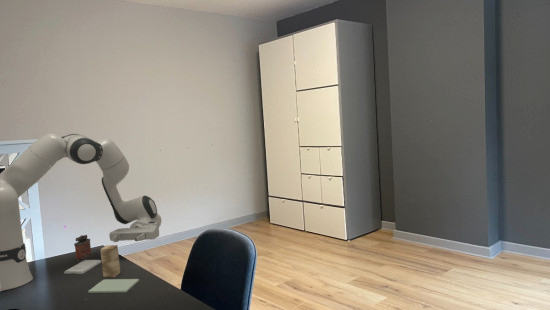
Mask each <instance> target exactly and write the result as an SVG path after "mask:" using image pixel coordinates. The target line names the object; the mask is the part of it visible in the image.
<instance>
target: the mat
mask: <svg viewBox="0 0 550 310" xmlns="http://www.w3.org/2000/svg"><path fill="white" fill-rule="evenodd" d="M139 281H140V279H139V278H129V279H128V278H127V279H126V278H120V279H119V278H118V279H116V278H115V279H114V278H113V279H112V278H111V279H110V278H108V279H106V278H105V279H102V280H101V281H100V282H98V283H97V284H96V285H94V286H93V287H91V289H89V290H88V291H87V292H88V293H89V294H90V293H94V294H95V293H96V294H98V293H107V294H108V293H110V294H111V293H127V292H129V291H130V290H131V289H132V288H133V287H134V286H135V285H136V284H137V283H138V282H139Z"/></svg>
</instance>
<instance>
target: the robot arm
mask: <svg viewBox="0 0 550 310" xmlns="http://www.w3.org/2000/svg"><path fill="white" fill-rule="evenodd" d="M64 158H67V159H69V160H70V161H71V162H75V163H77V164H80V165H88V164H91V163H97V165H98V167H99V169H100V170H101V172H102V177H101V185H102V189H103V190H104V192H105V195H106V197H107V199H108V201H109V203H110V206H111V208H112V211H113V214H114V217H115V220H116V221H117V222H119V223H120V224H123V225H128V224H129V223H132V222H133V223H132V224H130V226H129V227H125V228H124V227H123V228H117V229H115V230H112V231H110V232H109V235H108V236H109V240H110V241H111V242H113V243H118V242H120V241H121V242H122V241H134V242H140V241H144V240H147V241H148V240H155V239H157V238H158V237H160V229H159V228H160V227H161V224H162V218H161V215H160V214H159V212H158V209H157V208H158V207H157V204H156V202H155V201H154V200H153V199H152V198H151V197H150V196H149V195H148V196H147V195H142V196H138V197H136V198H133V199H129V200H127V201H125V200H123V199H122V197H121V194H120V192H119V190H118V188H117V185H118V184H119V183H121V182H122V181H123V180H124V179H125V178H126V177H127V175H128V173H129V170H130V165H129V162H128V160H127V158H126V157H125V154H124V153H123V152H122V150H121V149H120V148H119V146H118V145H117V144H116V143H115V142H114V141H113V140H112V139H110V138H108V137H107V138H106V137H105V138H104V137H103V138H100V139H97V140H94V139H91V138H89V137H88V136H86V135H82V134H79V133H70V134H67V135H64V136H60V135H59V134H56V133H53V132H50V133H49V132H48V133H46V134H45V135H43V136H41V137H40V138H38V139H37V140H36V141H34V142H33V143H32V144H30V146H29V147H27V148H26V149H25V150H24V151H23V152H22V153H21V154H20V155H19V156H18V157H17V158H16V159H15V160H14V161H13V162H12V163H11V164H10V165H8V166H7V167H6V168H5V169H4V170H2V172H0V292H3V291H7V290H12V289H15V288H19V287H21V286H24V285H26V284H28V283H30V282H31V281H33V280H34V277H33V275H32V272H31V270H30V268H29V263H28V260H27V250H26V249H27V248H26V244H25V243H24V236H23V229H22V221H21V212H20V204H19V203H20V202H19V198H21V196H23V195H24V194H25V193H26V192H27V191H28V190H29V189H30V188H32V187H33V186H34V185H36V184H37V183H38V182H39V181H40V180H41V179H42V178H43V177H44V176H45V175H46V174H47V173H48V172H49V171H50V170H51V169H52V168H53V167H54V166H55V164H56V163H57V162H59V161H60V160H62V159H64Z"/></svg>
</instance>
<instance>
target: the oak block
mask: <svg viewBox="0 0 550 310" xmlns="http://www.w3.org/2000/svg"><path fill="white" fill-rule="evenodd" d="M100 257H101V258H100V260H101V267H102V275H103V276H102V277H103V278H115V277H116V276H118V275H120V273H121V266H120V264H121V263H120V257H119V248H118V244H116V245H115V244H114V245H113V244H112V245H109V244H108V245H105V246H103V247H102V248H100Z"/></svg>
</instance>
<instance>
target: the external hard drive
mask: <svg viewBox="0 0 550 310" xmlns="http://www.w3.org/2000/svg"><path fill="white" fill-rule="evenodd" d="M100 264H102V260H101V259H84V260H81V261H79V262H78V263H77V264H75V265H73V266H72V267H70V268H68V269H66V270H65V271H64V272H63V273H64V274H65V275H66V274H69V275H70V274H74V275H75V274H77V275H78V274H79V275H81V274H82V275H83V274H85V273H86V272H87V271H90V270H91V269H93V268H94V267H97V266H98V265H100Z"/></svg>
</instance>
